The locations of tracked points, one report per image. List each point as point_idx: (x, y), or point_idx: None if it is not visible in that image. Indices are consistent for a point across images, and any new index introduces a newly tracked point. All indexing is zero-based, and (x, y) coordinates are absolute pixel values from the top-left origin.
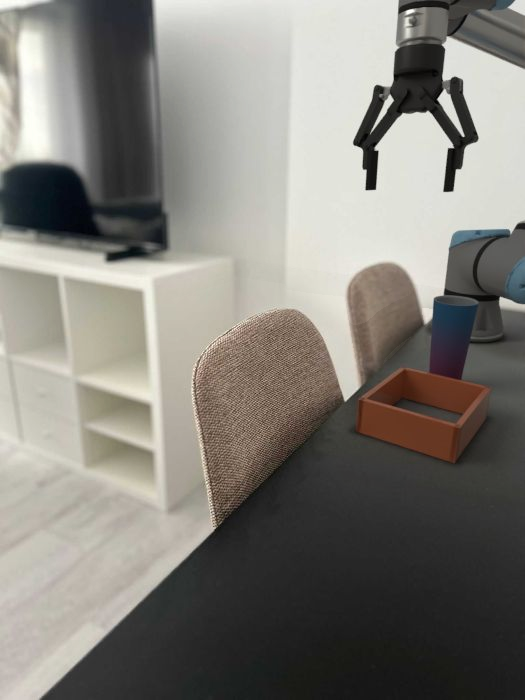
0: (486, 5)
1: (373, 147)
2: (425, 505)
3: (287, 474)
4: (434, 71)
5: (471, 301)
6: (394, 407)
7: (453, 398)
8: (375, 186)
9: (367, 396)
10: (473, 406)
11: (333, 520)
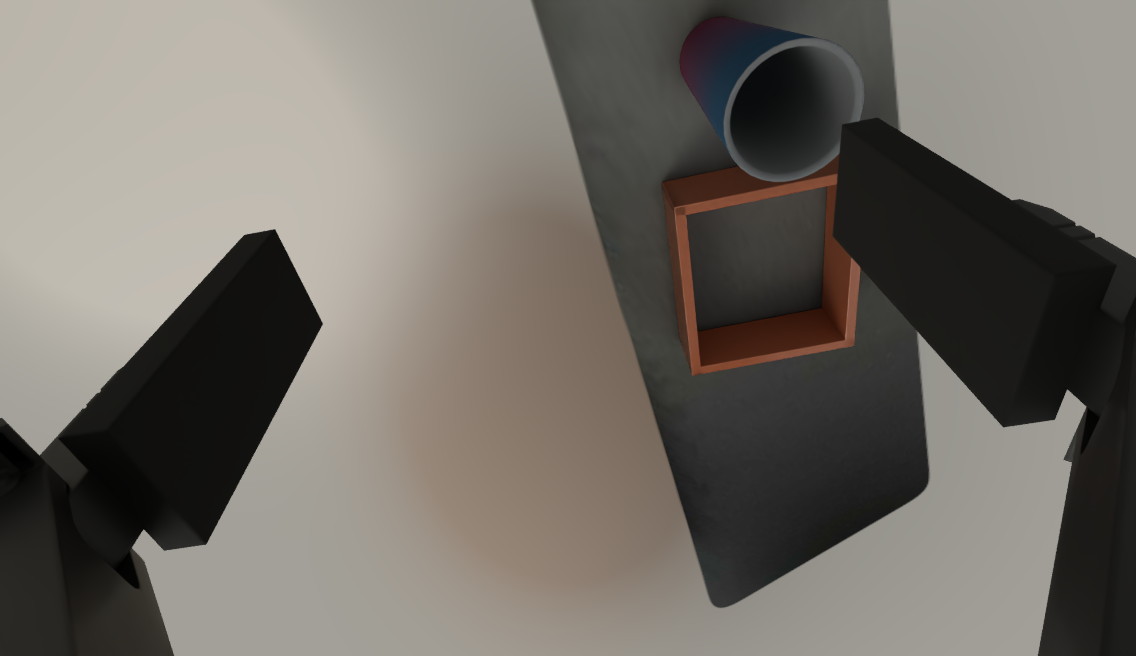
0: None
1: (64, 492)
2: (825, 399)
3: (676, 454)
4: None
5: (831, 52)
6: (750, 360)
7: None
8: (273, 254)
9: (698, 360)
10: (856, 271)
11: (758, 467)
